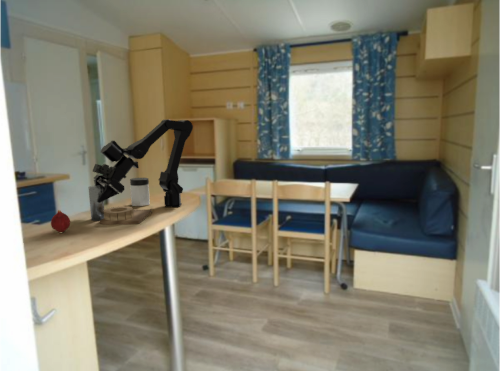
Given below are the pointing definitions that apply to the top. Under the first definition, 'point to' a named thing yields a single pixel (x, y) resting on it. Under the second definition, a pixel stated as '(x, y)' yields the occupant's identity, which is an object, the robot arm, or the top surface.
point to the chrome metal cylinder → (96, 203)
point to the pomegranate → (60, 222)
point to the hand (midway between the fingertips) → (94, 200)
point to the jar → (139, 191)
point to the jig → (124, 215)
